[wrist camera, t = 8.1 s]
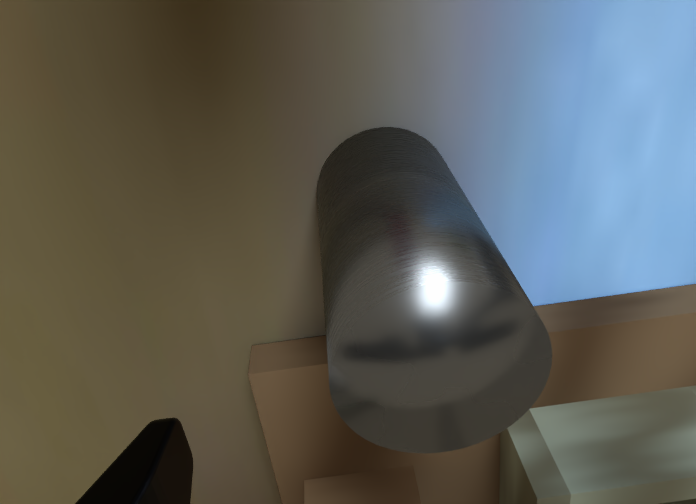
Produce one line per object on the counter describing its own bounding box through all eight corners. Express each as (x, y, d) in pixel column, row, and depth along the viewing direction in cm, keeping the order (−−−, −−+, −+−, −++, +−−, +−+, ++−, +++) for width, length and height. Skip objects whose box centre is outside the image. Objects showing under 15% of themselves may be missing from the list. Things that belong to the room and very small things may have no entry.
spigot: (441, 113, 16) (551, 260, 9) (455, 234, 18) (553, 430, 11) (302, 143, 16) (305, 310, 9) (332, 260, 18) (352, 470, 11)
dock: (826, 265, 19) (980, 358, 15) (740, 525, 26) (828, 642, 22) (251, 345, 19) (236, 462, 15) (312, 585, 26) (314, 714, 22)
